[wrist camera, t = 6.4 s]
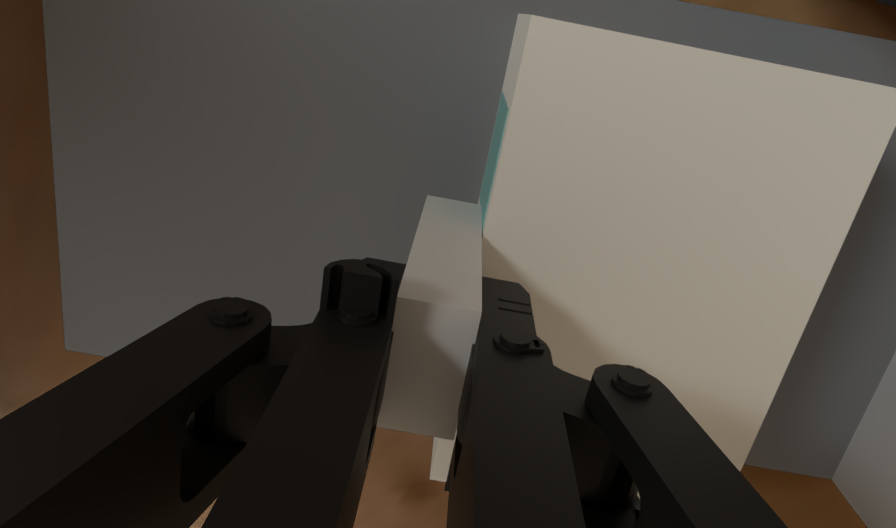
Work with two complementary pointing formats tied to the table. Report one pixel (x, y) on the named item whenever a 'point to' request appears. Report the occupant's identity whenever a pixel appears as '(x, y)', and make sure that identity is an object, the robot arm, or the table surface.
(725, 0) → the table surface
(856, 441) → the grey base with uprights
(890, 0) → the hammer
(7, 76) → the table surface
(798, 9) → the table surface
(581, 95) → the carton
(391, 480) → the table surface
